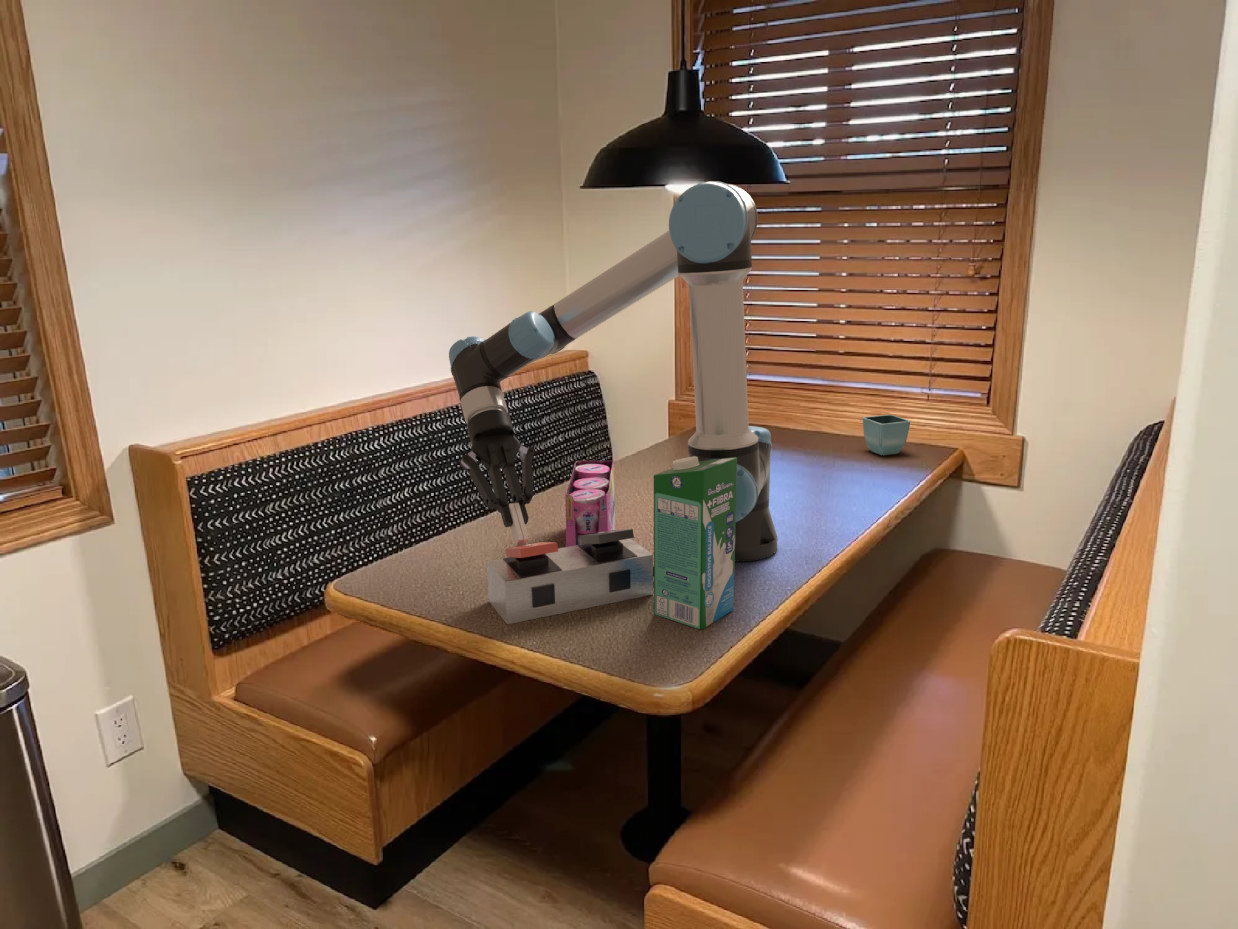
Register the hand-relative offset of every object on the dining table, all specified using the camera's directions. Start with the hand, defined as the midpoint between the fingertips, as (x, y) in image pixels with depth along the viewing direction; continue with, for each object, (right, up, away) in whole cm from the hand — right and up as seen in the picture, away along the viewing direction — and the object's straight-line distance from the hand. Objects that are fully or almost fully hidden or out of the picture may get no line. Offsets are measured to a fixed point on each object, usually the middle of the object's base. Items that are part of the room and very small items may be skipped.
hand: (522, 542), depth 145 cm
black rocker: (+14, +1, +2) cm, 14 cm away
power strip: (+11, -9, +3) cm, 14 cm away
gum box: (+11, -3, +25) cm, 28 cm away
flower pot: (+84, +15, +86) cm, 121 cm away
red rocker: (+2, -1, -3) cm, 4 cm away
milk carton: (+27, -11, -4) cm, 30 cm away
